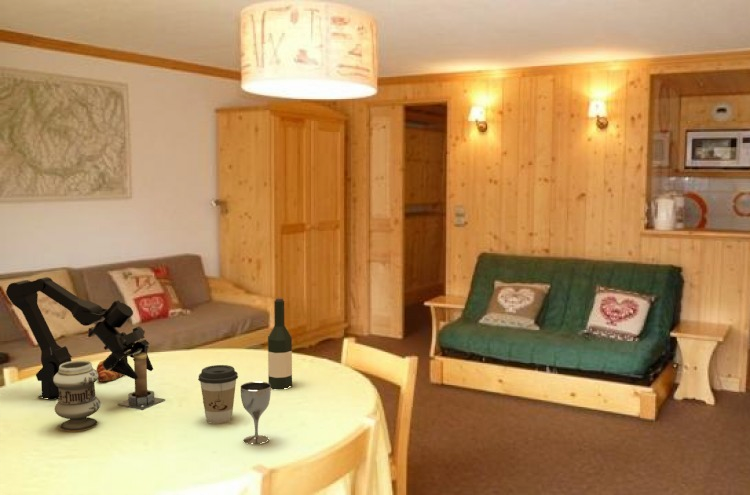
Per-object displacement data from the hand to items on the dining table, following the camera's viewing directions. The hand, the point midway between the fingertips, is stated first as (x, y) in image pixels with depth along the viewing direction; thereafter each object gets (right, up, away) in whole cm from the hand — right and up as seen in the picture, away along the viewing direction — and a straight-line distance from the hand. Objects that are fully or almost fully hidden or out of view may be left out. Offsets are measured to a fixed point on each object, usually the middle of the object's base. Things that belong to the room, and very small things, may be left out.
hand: (144, 374), depth 222 cm
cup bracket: (-1, -9, +1) cm, 9 cm away
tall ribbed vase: (-1, -9, +1) cm, 9 cm away
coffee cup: (+26, -11, -13) cm, 31 cm away
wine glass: (+40, -13, -29) cm, 51 cm away
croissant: (-21, -6, +31) cm, 38 cm away
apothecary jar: (-13, -11, -19) cm, 25 cm away
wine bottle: (+40, -8, +19) cm, 44 cm away
